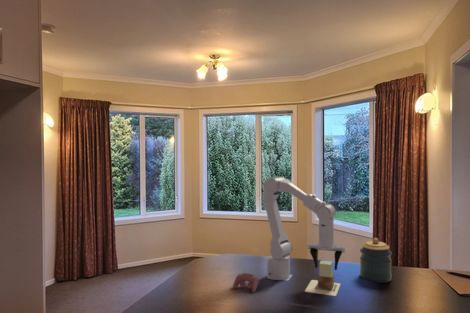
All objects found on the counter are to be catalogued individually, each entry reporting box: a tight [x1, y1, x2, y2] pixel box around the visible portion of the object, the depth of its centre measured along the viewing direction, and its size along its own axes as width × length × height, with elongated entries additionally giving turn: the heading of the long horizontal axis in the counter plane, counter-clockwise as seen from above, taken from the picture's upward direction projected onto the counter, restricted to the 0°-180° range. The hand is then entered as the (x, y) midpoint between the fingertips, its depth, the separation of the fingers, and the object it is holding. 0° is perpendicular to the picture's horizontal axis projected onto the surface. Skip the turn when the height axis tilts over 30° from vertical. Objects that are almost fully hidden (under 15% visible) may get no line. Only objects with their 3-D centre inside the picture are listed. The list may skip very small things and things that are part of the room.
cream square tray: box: [304, 279, 341, 297], centre depth 151 cm, size 12×14×1 cm
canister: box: [359, 237, 393, 284], centre depth 163 cm, size 13×13×18 cm
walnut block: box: [317, 272, 335, 290], centre depth 152 cm, size 6×6×5 cm
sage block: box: [318, 260, 333, 277], centre depth 151 cm, size 4×4×5 cm
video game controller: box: [232, 272, 260, 293], centre depth 152 cm, size 10×5×7 cm, turn 66°
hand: (326, 268), depth 152 cm, fingers open, 7 cm apart
